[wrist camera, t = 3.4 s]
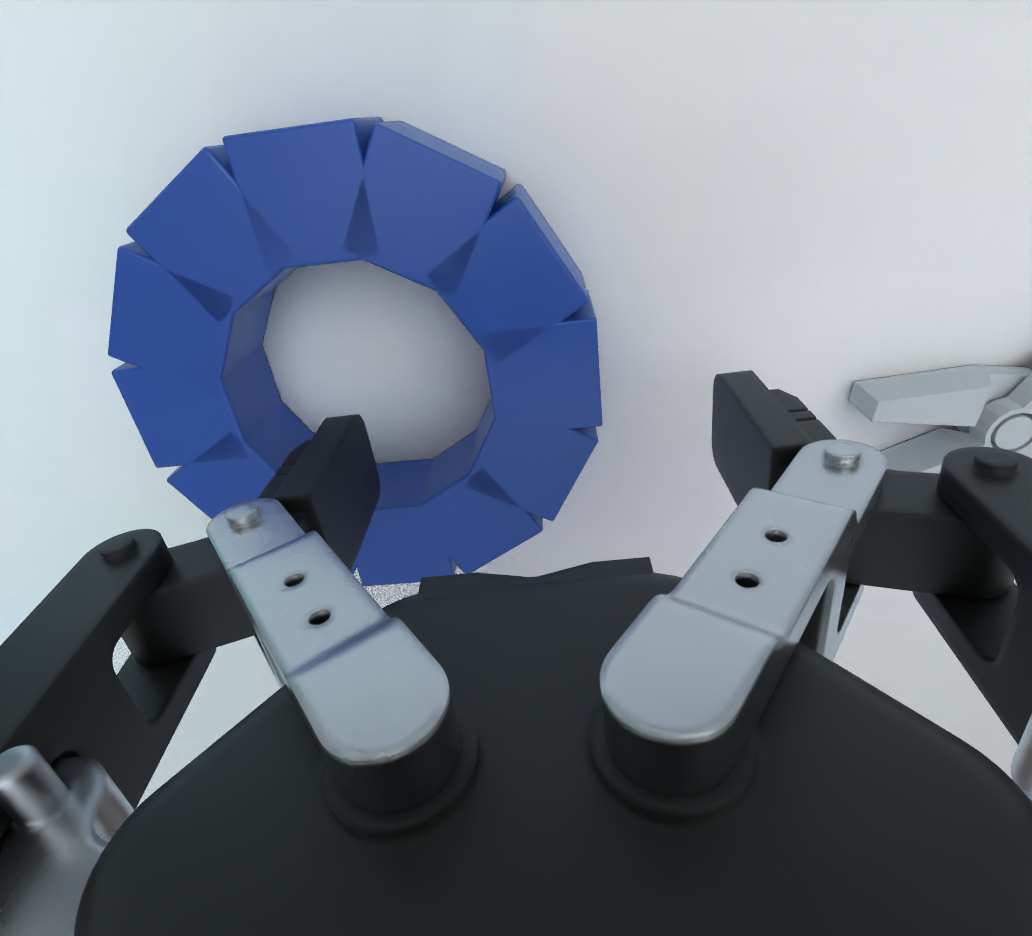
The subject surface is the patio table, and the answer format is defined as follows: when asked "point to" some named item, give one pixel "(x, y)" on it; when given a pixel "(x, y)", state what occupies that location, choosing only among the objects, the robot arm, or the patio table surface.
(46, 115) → the patio table surface
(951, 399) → the pliers
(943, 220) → the patio table surface
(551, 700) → the robot arm
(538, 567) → the patio table surface
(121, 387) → the ring
